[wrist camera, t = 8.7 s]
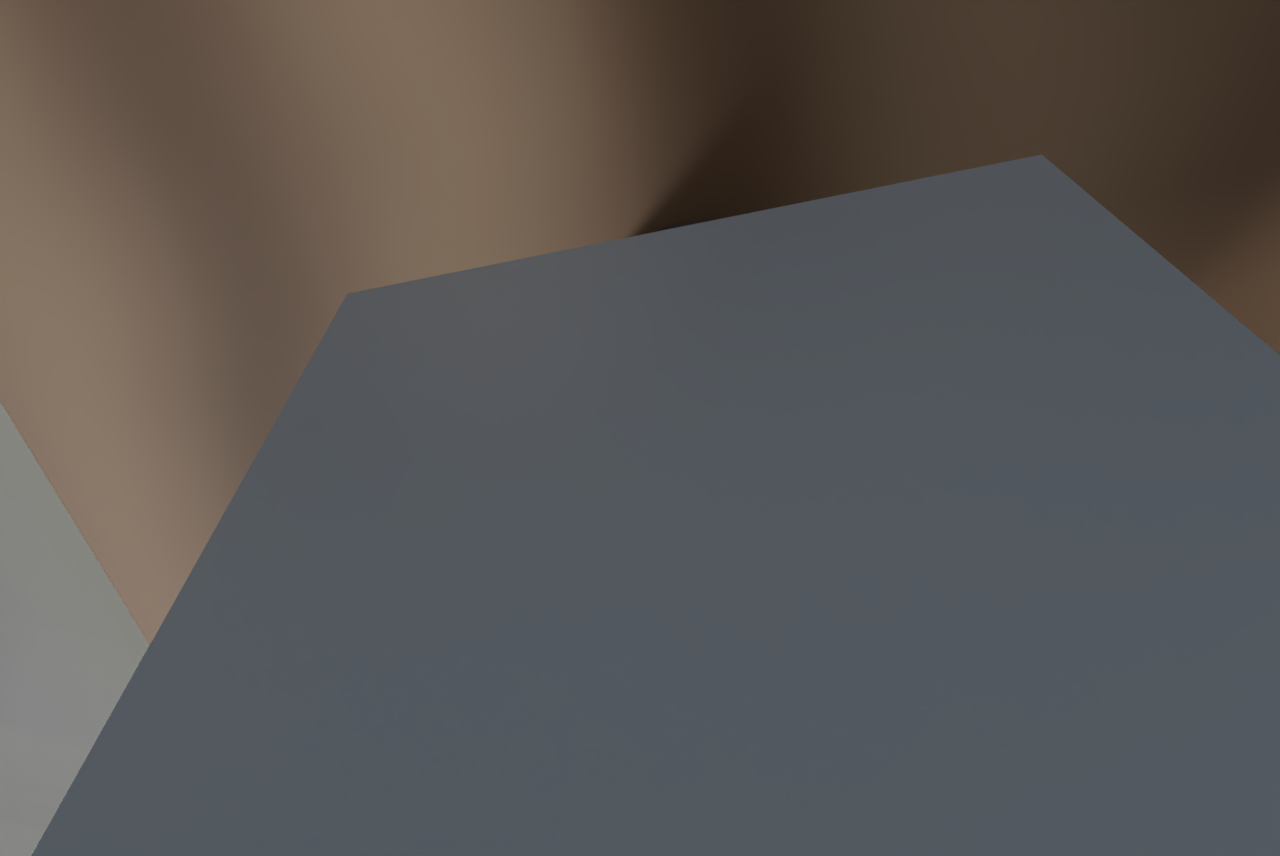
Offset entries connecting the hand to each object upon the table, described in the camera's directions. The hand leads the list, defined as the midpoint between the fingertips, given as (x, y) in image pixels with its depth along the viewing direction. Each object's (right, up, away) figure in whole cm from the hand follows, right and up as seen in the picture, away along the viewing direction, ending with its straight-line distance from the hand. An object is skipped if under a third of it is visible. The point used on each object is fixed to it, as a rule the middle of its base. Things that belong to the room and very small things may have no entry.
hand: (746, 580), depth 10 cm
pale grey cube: (0, +1, +1) cm, 1 cm away
